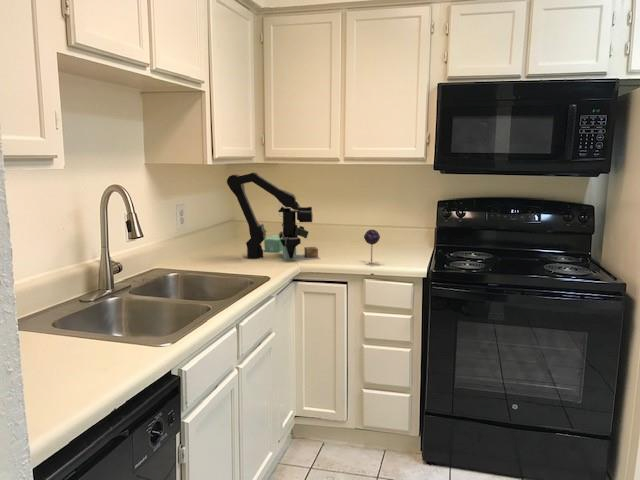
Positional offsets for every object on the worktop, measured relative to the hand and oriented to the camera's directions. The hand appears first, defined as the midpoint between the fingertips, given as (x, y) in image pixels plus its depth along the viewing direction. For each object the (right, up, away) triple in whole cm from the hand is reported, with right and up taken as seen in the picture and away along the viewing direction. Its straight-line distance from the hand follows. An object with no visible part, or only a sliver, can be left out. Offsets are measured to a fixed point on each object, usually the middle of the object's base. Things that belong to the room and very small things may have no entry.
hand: (289, 256), depth 239 cm
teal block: (0, -1, 0) cm, 0 cm away
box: (-8, +1, +19) cm, 21 cm away
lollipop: (+36, -3, -6) cm, 37 cm away
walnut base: (+10, 0, +3) cm, 10 cm away
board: (+5, -1, +2) cm, 5 cm away
